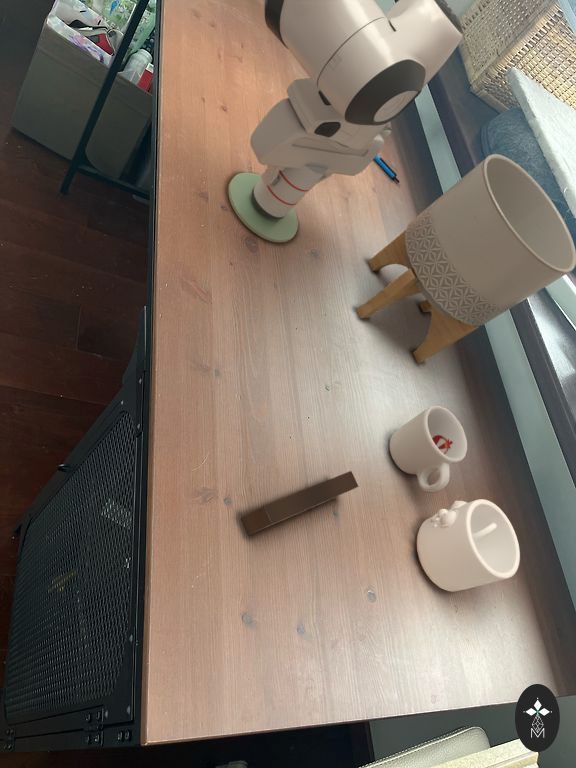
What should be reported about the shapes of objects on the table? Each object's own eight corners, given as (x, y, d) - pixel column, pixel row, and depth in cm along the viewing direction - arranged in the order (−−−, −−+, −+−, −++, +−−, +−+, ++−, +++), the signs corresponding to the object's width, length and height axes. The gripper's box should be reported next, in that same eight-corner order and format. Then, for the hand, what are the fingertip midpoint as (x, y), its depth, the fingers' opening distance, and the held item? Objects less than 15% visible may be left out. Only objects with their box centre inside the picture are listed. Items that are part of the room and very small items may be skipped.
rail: (248, 535, 65) (271, 524, 62) (240, 517, 65) (263, 505, 62) (335, 497, 74) (358, 486, 71) (328, 482, 75) (351, 470, 72)
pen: (396, 184, 120) (401, 180, 119) (327, 110, 116) (331, 106, 116) (398, 182, 121) (402, 179, 120) (329, 109, 117) (332, 105, 116)
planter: (384, 369, 92) (535, 272, 74) (333, 261, 96) (463, 145, 78) (451, 356, 105) (593, 271, 87) (403, 261, 109) (530, 162, 91)
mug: (438, 494, 86) (491, 473, 80) (479, 558, 86) (536, 542, 79) (397, 537, 78) (452, 517, 72) (442, 609, 77) (502, 595, 71)
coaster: (248, 242, 86) (250, 239, 85) (215, 171, 88) (217, 168, 88) (307, 242, 94) (309, 240, 93) (276, 178, 96) (278, 175, 96)
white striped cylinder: (298, 227, 83) (309, 138, 79) (242, 214, 90) (249, 131, 86) (327, 227, 87) (339, 142, 83) (271, 215, 94) (280, 136, 90)
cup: (430, 506, 84) (477, 487, 79) (388, 496, 80) (434, 476, 75) (418, 434, 90) (461, 412, 84) (378, 421, 86) (421, 398, 80)
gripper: (387, 105, 85) (325, 171, 95) (282, 77, 71) (221, 158, 81) (408, 142, 84) (342, 205, 94) (305, 120, 70) (240, 198, 79)
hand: (285, 183), depth 87 cm, fingers closed on white striped cylinder, 6 cm apart
